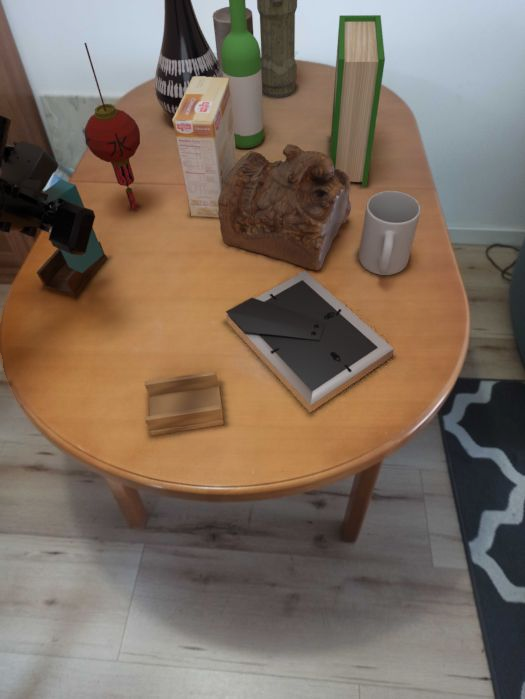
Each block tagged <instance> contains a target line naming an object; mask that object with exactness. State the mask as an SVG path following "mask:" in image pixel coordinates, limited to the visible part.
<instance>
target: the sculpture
mask: <svg viewBox="0 0 525 699" xmlns="http://www.w3.org/2000/svg"><path fill="white" fill-rule="evenodd" d="M282 154H283V156H284V157H285V158H286V159H285V160H284V161H283V160H275V161H273V162H270V161H269V159H267V158H266V156H264V155H263V154H262V153H260V152H257V151H252V150H249V151H248V152H246V153H245V154H244V155H243V156H241V157H240V158H239V160H237V164H236V165H235V166H234V167H233V168H232V170H231V171H230V173H229V175H228V176H227V178H226V179H225V181H224V185H223V188H222V191H221V193H220V196H219V199H218V205H219V210H218V215H219V218H218V219H219V224H220V227H219V229H220V233H221V236H222V241H223V242H224V243H225V244H227V245H228V246H230V247H234V248H239V249H243V250H246V251H250V252H252V253H257V254H261V255H265V256H267V257H270V258H273V259H277V260H281V261H284V262H287V263H290V264H293V265H296V266H298V267H302V268H305V269H309V270H311V271H318V270H320V269H322V267H323V265H324V261H325V258H326V256H327V253H328V252H329V250H330V248H331V247H332V243H333V241H334V239H335V238H336V237H337V235H338V232H339V230H340V227H342V225H344V224H346V222H347V220H348V218H349V216H350V215H351V211H352V210H351V209H352V205H351V201H350V193H351V190H352V189H351V186H352V184H351V182H350V179H349V177H348V176H347V175H346V174H345V172H342V171H340V170H339V169H334V166H333V162H332V160H331V159H330V156H329V155H328V154H325V153H324V152H320V151H315V150H303V149H301V148H300V147H299V146H298V145H296V144H293V143H292V144H291V143H289V144H286V146H284V148H283V149H282Z"/></svg>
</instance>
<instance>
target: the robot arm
mask: <svg viewBox="0 0 525 699" xmlns="http://www.w3.org/2000/svg"><path fill="white" fill-rule="evenodd" d="M11 124H12V119H10V118H7V117H5V116H3V115H1V114H0V171H1V174H0V232H2V233H3V232H4V233H8V234H9V233H10V232H11V231H14V232H19V233H21V234H23V235H25V236H28V237H32V238H35V237H36V235H37V231H38V230H40V231H43V232H45V233H47V234H49V237H48V241H49V242H50V243H51V246H52V247H53V248H56V249H58V248H59V249H61V250H63V251H65V252H68V253H70V254H74V255H83V254H85V253H86V249H87V245H88V242H89V238H90V234H91V230H92V227H93V228H94V223H95V218H96V214H95V212H94V210H93V209H90V208H87V207H85V206H84V207H82V206H80V205H77V204H74V203H71V202H68V201H66V200H63V199H61V198H59V200H58V203H57V202H54V201H50V202H49V203H48V204H45V203H46V202H47V198H48V194H47V193H44V191H43V190H44V189H45V188H46V186H47V185H48V183H49V181H50V180H51V178H52V176H53V175H54V173H56V172H57V170H58V168H59V163H58V161H57V160H56V159H54V158H53V156H51V155H50V153H48V152H47V151H46V150H45V149H44V148H43V147H42V146H40V145H37V144H33V143H30V142H28V141H24V140H21V141H16V140H13V142H12V145H11V144H8V143H7V141H8V138H9V133H10V128H11ZM45 212H48V214H46V213H45Z"/></svg>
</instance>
